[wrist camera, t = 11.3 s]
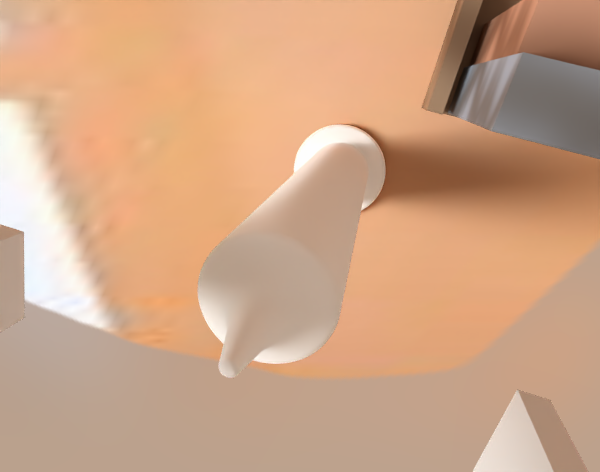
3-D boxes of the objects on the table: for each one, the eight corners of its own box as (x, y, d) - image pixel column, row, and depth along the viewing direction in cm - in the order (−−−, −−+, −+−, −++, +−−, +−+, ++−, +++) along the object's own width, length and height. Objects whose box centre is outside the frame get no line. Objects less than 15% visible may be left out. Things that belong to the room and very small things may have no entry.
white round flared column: (373, 222, 33) (345, 522, 10) (289, 203, 34) (89, 441, 11) (395, 134, 31) (425, 272, 8) (303, 115, 32) (84, 190, 9)
